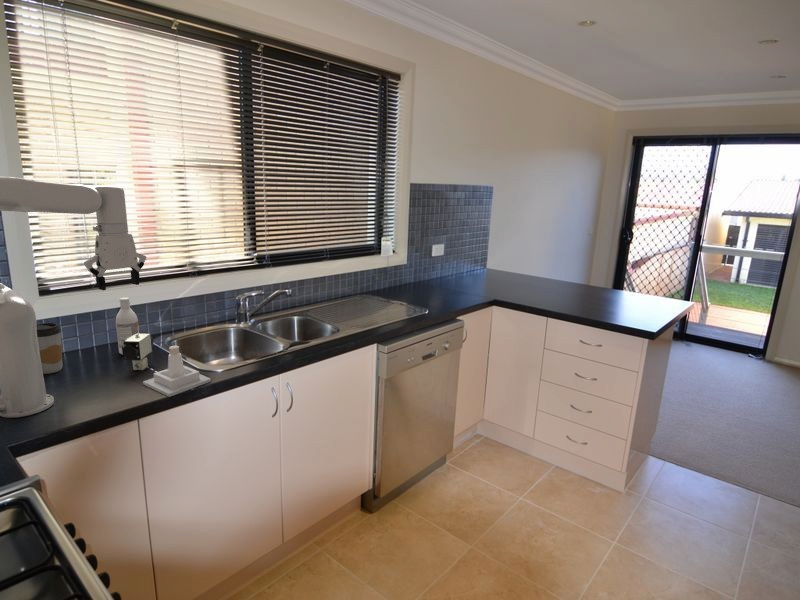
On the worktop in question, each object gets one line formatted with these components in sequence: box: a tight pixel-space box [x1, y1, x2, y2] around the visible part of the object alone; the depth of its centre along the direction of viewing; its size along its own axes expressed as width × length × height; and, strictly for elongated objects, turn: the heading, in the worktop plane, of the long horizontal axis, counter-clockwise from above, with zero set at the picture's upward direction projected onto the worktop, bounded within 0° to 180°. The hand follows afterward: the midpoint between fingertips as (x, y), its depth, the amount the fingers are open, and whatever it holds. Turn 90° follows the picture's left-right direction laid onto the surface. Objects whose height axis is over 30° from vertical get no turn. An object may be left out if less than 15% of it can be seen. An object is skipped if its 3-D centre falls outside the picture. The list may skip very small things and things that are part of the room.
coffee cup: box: [36, 322, 64, 375], centre depth 156 cm, size 8×8×15 cm
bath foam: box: [115, 296, 140, 355], centre depth 174 cm, size 7×7×20 cm
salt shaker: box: [167, 345, 185, 379], centre depth 151 cm, size 5×5×11 cm
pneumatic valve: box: [122, 332, 154, 371], centre depth 161 cm, size 6×12×12 cm, turn 2°
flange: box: [142, 364, 212, 398], centre depth 152 cm, size 14×14×4 cm
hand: (119, 286), depth 145 cm, fingers open, 9 cm apart
